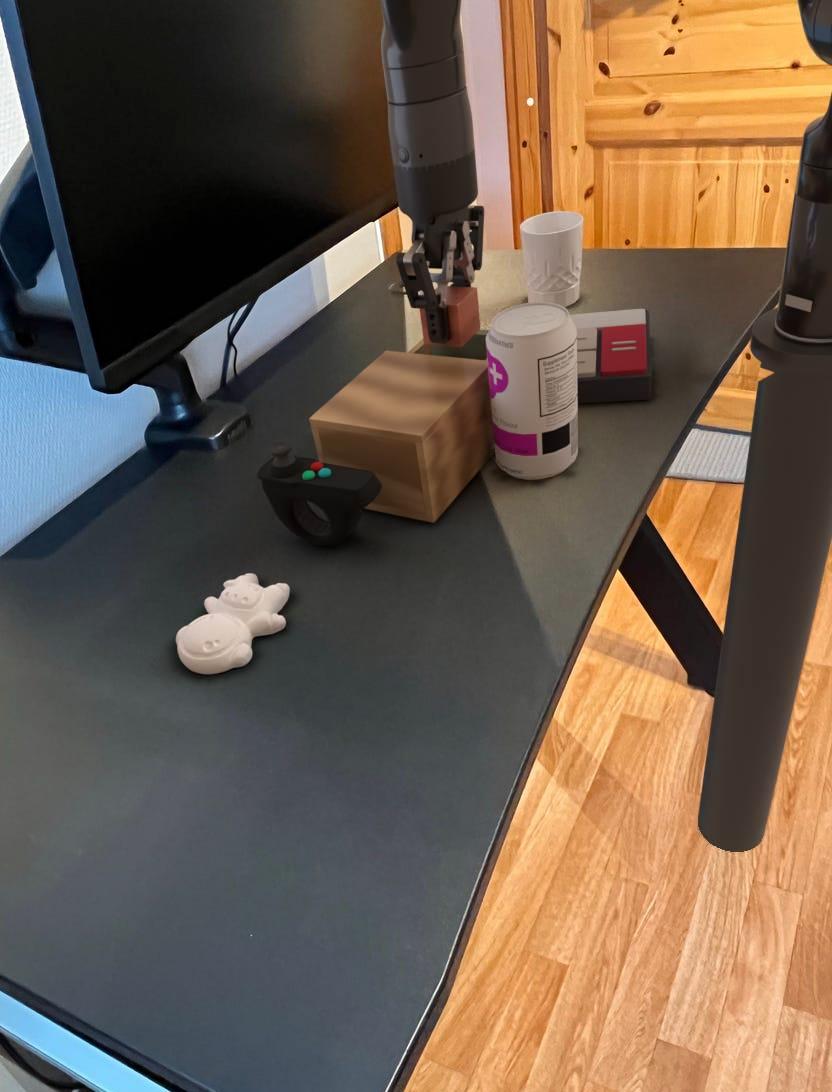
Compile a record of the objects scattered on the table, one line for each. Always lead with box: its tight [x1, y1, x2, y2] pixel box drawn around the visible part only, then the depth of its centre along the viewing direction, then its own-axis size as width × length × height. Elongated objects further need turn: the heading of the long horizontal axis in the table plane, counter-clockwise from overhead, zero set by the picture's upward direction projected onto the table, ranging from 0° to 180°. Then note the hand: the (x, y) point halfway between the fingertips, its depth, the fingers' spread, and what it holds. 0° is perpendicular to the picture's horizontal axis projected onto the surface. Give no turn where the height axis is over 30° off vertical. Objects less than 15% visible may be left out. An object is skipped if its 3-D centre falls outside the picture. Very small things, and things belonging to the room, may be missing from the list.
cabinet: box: [308, 350, 495, 524], centre depth 88 cm, size 15×13×10 cm
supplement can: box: [486, 302, 579, 481], centre depth 84 cm, size 8×8×15 cm
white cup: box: [519, 210, 584, 308], centre depth 114 cm, size 8×8×10 cm
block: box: [419, 285, 481, 348], centre depth 89 cm, size 4×4×4 cm
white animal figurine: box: [175, 572, 291, 675], centre depth 77 cm, size 9×12×3 cm
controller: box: [256, 441, 382, 547], centre depth 82 cm, size 4×12×10 cm, turn 59°
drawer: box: [407, 329, 489, 361], centre depth 94 cm, size 18×11×8 cm, turn 147°
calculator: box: [569, 308, 653, 405], centre depth 99 cm, size 11×4×15 cm
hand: (452, 330), depth 90 cm, fingers closed on block, 4 cm apart
